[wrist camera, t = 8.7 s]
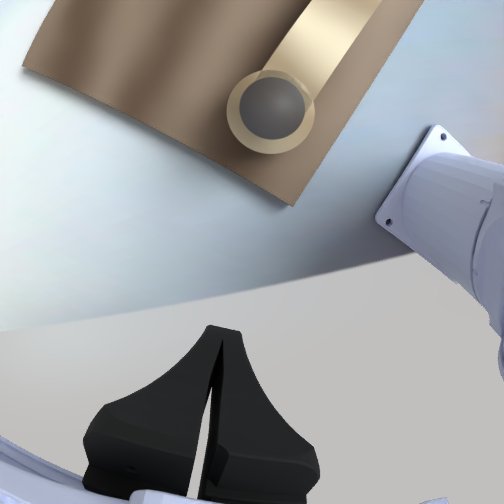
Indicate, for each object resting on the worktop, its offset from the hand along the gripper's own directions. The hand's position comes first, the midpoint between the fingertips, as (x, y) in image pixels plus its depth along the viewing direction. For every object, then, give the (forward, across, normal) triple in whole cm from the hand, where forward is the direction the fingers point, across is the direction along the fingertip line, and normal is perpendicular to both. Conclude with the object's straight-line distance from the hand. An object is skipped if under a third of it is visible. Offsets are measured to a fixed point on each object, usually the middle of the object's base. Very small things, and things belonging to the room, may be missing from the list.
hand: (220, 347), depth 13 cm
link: (+8, -2, -16) cm, 18 cm away
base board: (+9, +4, -20) cm, 22 cm away
